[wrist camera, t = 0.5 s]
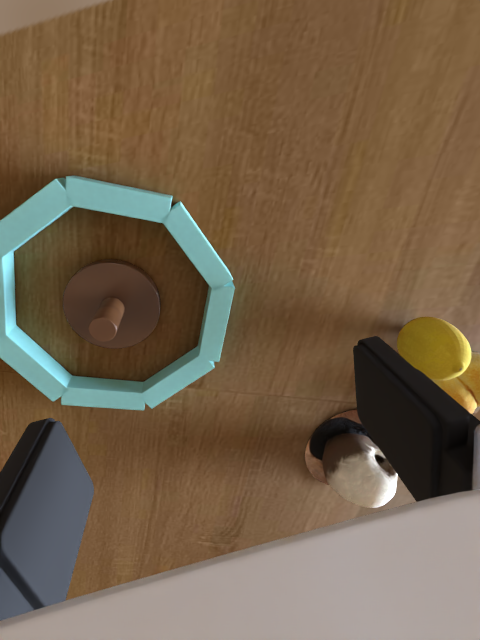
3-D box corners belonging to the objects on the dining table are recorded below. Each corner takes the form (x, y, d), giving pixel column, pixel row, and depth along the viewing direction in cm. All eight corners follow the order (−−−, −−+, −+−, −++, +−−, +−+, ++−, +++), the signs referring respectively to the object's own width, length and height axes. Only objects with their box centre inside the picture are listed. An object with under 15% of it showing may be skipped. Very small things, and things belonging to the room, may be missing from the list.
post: (45, 293, 30) (18, 320, 25) (119, 240, 29) (107, 256, 24) (110, 357, 34) (98, 392, 29) (178, 311, 33) (178, 338, 28)
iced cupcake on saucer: (428, 425, 42) (433, 522, 38) (362, 431, 51) (360, 511, 46) (354, 395, 38) (349, 499, 33) (295, 407, 46) (285, 492, 42)
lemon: (405, 296, 36) (461, 330, 29) (441, 318, 38) (503, 355, 30) (372, 340, 37) (418, 383, 30) (409, 359, 39) (460, 404, 32)
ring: (-70, 278, 28) (-87, 286, 27) (129, 127, 26) (125, 124, 24) (104, 428, 37) (100, 442, 35) (265, 323, 35) (270, 332, 33)
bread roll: (495, 380, 43) (524, 401, 39) (430, 420, 44) (452, 443, 40) (476, 333, 39) (506, 350, 36) (406, 377, 40) (428, 398, 37)
